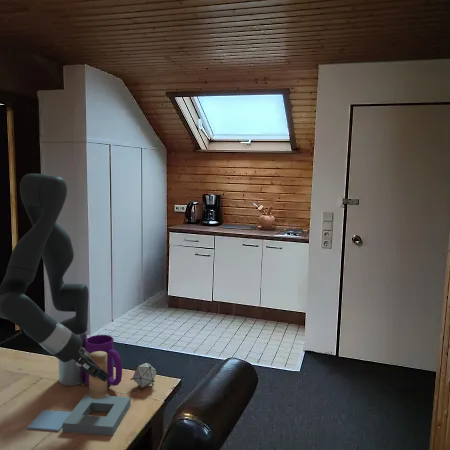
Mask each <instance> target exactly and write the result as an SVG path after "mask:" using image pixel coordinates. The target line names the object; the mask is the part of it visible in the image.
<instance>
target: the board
mask: <svg viewBox="0 0 450 450" xmlns="http://www.w3.org/2000/svg"><path fill="white" fill-rule="evenodd" d="M131 403H132V402H131V397H130V396H129V397H128V396H115V395H106V396H105V397H104V398H101V399H92V398H90V397H89V393H88V394H85V395H84V396H83V397H82V399H81V400H79V402H78V403H77V404H76V406H75V407H74V408H73V410H72V411H70V412H71V413H70V414H69V416H68V417H67V418H66V419H65V421H64V422H63V427H62V432H63V433H73V434H74V433H77V434H85V435H86V434H87V435H100V436H110V435H111V436H114V435H115V433H116V432H117V429H118V427H119V426H120V424H121V422H122V421H123V420H124V417H125V416H126V414H127V412H128V410H129V409H130V407H131V405H132V404H131ZM94 411H96V412H106V413H107V412H108V413H107V415H106V416H101V415H100V416H98V415H90V413H91V412H94Z"/></svg>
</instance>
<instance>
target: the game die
mask: <svg viewBox="0 0 450 450" xmlns="http://www.w3.org/2000/svg"><path fill="white" fill-rule="evenodd" d="M159 371H160V370H159V369H158V370H156V368H154V367H153V366H152V365H151V364H150V363H149V359H147V361H146V362H144V363H142V364H140V365H138V364H135V370H134V373H133V376H132V377H131V378H130V379H129V380H130V381H132V380H133V381H134V382H135V383H136V384H137V385H138V386H139V387H140V390H141V391H143V390H144V389H143V388H145V387H147V386H150V385H152V386H154V383H155V377H156V375H157V373H158V372H159Z"/></svg>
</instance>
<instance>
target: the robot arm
mask: <svg viewBox="0 0 450 450" xmlns="http://www.w3.org/2000/svg"><path fill="white" fill-rule="evenodd" d="M19 193H20V198H21V202H22V205H23V206H24V209H25V210H26V214H27V216H28V218H29V220H30V223H31V226H32V227H31V228H30V229H29V230H28V231H27V232H26V233H25V234H24V235H23V236H22V237H21V238H20V239H19V240H18V241H17V243H16V244H15V246H14V247H13V249H12V252H11V255H10V258H9V261H8V265H7V268H6V272H5V275H4V277H3V280H2V281H1V283H0V319H3V320H8V321H9V322H11V323H13V324H15V325H16V326H17V327H19V328H20V329H22V330H23V333H24V334H25V335H26V336H27V337H29V338H30V339H32V340H33V341H34V342H36V343H37V344H38V345H40V346H41V347H42V348H43V349H44V350H45V351H47V352H48V353H49V354H51V355H52V356H53V357H55V358H56V359H57V360H58V382H59V384H61V385H62V386H67V387H68V386H69V387H70V386H78V385H80V384H83V383H86V380H85V372H87V373H88V374H90V375H91V376H93V377H96V376H97V377H98V378H100V379H101V380H102V381H104V382H105V381H107V379H108V378H109V377H110V375H109V374H108V373H106V372H105V371H104V370H102V369H101V367H99V366H98V365H96V364H95V360H93V359H92V358H91V357H90V356H89V354H90V353H89V352H87V351H86V350H85V341H86V339H87V338H88V322H89V320H88V319H89V297H90V296H89V293H90V292H89V288H88V286H87V285H86V284H84V283H66V282H64V276H65V274H66V272H67V271H68V269H69V267H70V266H71V264H73V263H72V262H73V260H74V257H75V253H74V248H73V243H72V240H71V237H70V235H69V233H68V231H66V229H65V228H64V227H63V226H62V225H61V224H60V223H59V222H58V221H57V220H58V218H59V216H60V214H61V212H62V210H63V208H64V205H65V202H66V199H67V193H68V186H67V182H66V180H65V178H62V177H60V176H58V175H50V174H41V173H26V174H25V175H23V177H22V178H21V180H20V183H19ZM41 259H42V261H43V265H44V268H45V272H46V275H47V280H48V284H49V289H50V290H49V291H50V296H51V300H52V301H51V302H52V306H53V307H54V308H55V310H56V311H59V312H68V313H69V312H71V313H73V312H74V313H75V315H74V316H73V317H69V318H67V319H64V320H61V322H58V321H57V320H55V319H54V318H53V317H52V316H51V315H49V314H48V313H46V312H45V311H43V310H42V309H41V307H40V306H39V305H38V304H36V302H35V301H33V300H32V299H31V298H30V297H29V296H27V295H26V293H27V291H28V287H29V285H30V284H31V283H33V282H34V280H35V277H36V274H37V271H38V268H39V264H40V263H41V262H40V261H41ZM91 361H92V363H91ZM94 369H95V370H94ZM93 370H94V371H93Z"/></svg>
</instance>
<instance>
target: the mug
mask: <svg viewBox="0 0 450 450" xmlns="http://www.w3.org/2000/svg"><path fill="white" fill-rule="evenodd" d="M114 342H115V341H114V337H112V336H111V335H109V334H96V335H92V336H90V337H87V339H86V341H85V350H86V351H87V352H89V353H92V352H96V351H104V352H106V353H107V373H108V374H109V375H110V377H109V378H108V379H107V386H109V385H110V386H118V385H119V384H120V383H121V382H122V378H123V363H122V358H121V356H120V354H119V352H118V351H117V350H116V349H114V345H115V344H114ZM114 365H115V366H114ZM114 367H115V377H114ZM85 380H86V381H85V384H86V385H87V386H88V387H89V374H88V373H87V372H85Z"/></svg>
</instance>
